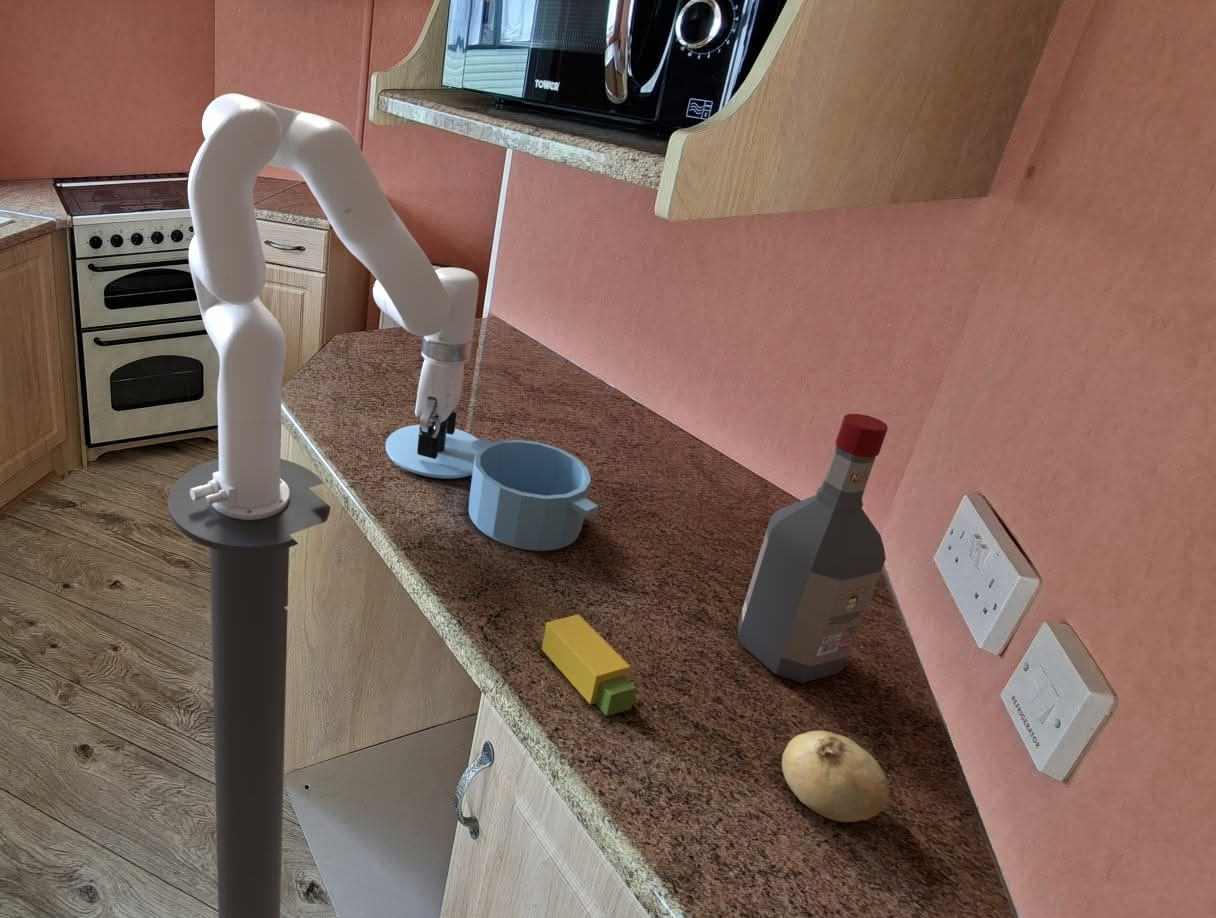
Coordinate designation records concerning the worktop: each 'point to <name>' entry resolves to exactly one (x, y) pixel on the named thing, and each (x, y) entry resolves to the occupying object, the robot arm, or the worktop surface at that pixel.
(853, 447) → the liquor
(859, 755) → the onion
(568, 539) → the pot
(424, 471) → the lid
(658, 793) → the worktop surface
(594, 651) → the corn
